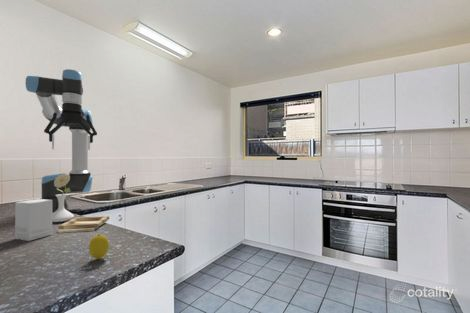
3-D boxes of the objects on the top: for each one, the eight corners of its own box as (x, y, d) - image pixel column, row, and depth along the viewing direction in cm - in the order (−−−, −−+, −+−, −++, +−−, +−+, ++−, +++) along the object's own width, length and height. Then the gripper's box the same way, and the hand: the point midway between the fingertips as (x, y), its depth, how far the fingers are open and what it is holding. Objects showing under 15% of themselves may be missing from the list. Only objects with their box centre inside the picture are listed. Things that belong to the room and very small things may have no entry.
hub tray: (77, 221, 123) (77, 216, 123) (110, 219, 126) (110, 215, 126) (55, 232, 104) (55, 227, 104) (95, 230, 107) (95, 225, 107)
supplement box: (53, 234, 101) (53, 199, 102) (29, 241, 93) (29, 203, 93) (38, 232, 104) (39, 198, 105) (14, 239, 96) (14, 201, 96)
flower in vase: (42, 222, 122) (43, 173, 122) (67, 217, 132) (67, 172, 132) (56, 225, 116) (56, 174, 116) (80, 220, 126) (80, 172, 126)
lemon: (94, 256, 78) (94, 231, 78) (111, 255, 79) (111, 231, 79) (85, 263, 73) (85, 237, 73) (104, 262, 73) (104, 236, 73)
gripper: (36, 98, 101) (35, 148, 101) (102, 105, 114) (102, 149, 114) (39, 102, 108) (39, 149, 107) (102, 108, 121) (102, 150, 120)
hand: (71, 149), depth 111 cm, fingers open, 13 cm apart
